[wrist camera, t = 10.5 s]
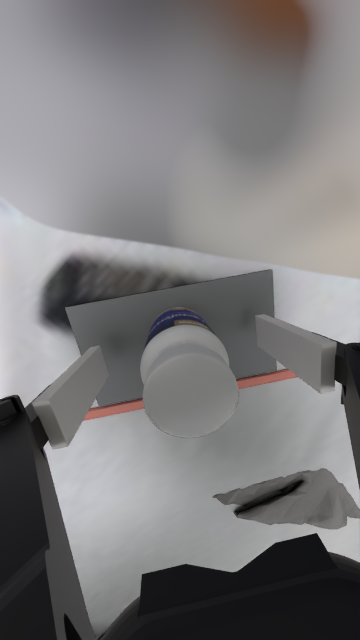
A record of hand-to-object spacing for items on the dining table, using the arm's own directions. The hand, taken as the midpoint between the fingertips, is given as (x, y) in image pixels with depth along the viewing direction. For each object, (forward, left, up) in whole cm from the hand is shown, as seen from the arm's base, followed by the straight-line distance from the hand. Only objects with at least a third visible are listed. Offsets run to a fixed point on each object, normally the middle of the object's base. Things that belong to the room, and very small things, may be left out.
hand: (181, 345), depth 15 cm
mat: (0, -1, -4) cm, 4 cm away
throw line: (0, -7, -4) cm, 8 cm away
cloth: (+13, -29, -5) cm, 32 cm away
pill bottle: (0, 0, -4) cm, 4 cm away
